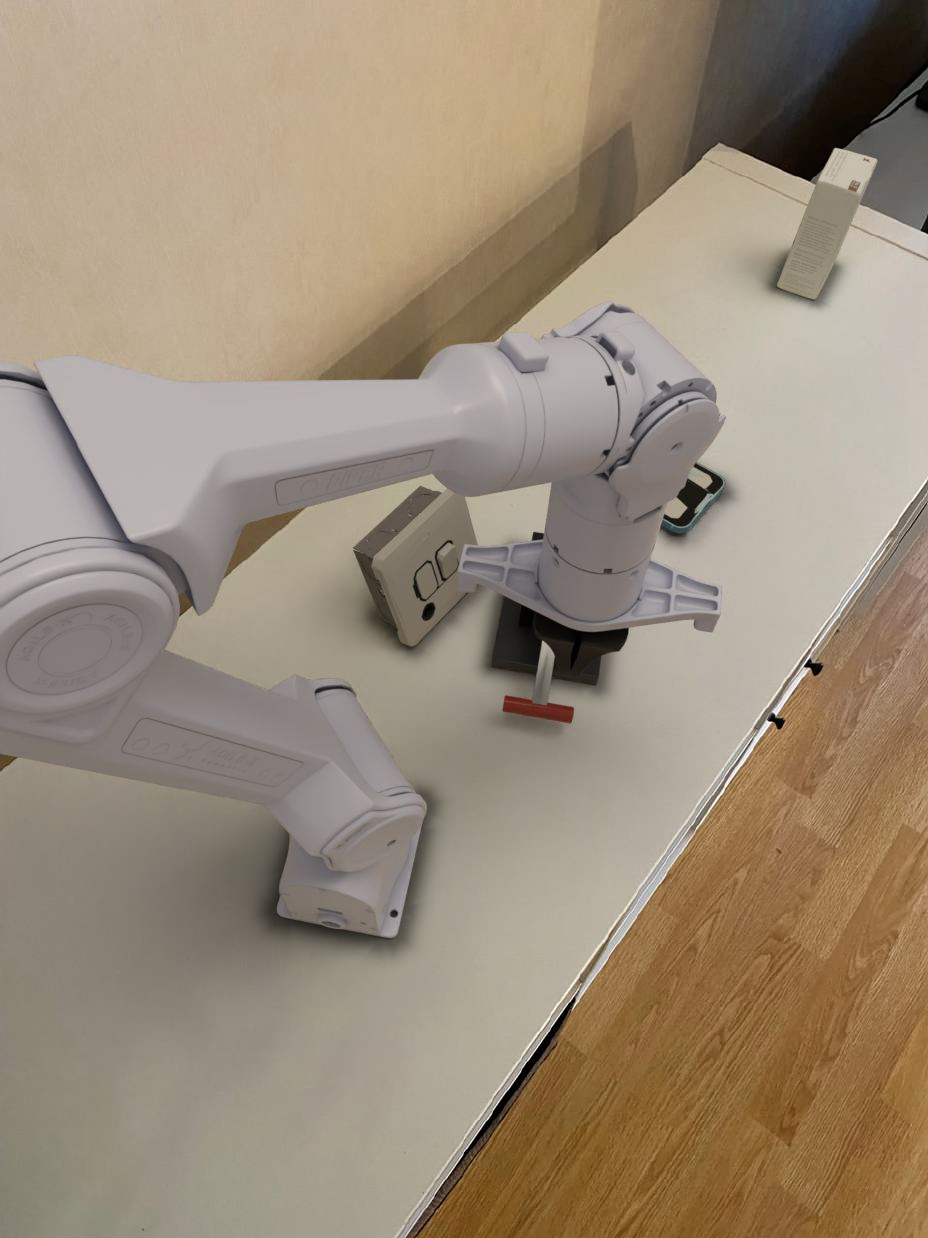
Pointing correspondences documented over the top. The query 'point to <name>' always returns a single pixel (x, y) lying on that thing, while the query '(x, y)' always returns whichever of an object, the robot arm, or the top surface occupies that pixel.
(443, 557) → the electrical switch
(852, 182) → the cosmetic box
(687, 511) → the smartphone
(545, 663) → the switch lever
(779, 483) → the top surface
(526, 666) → the electrical switch base
